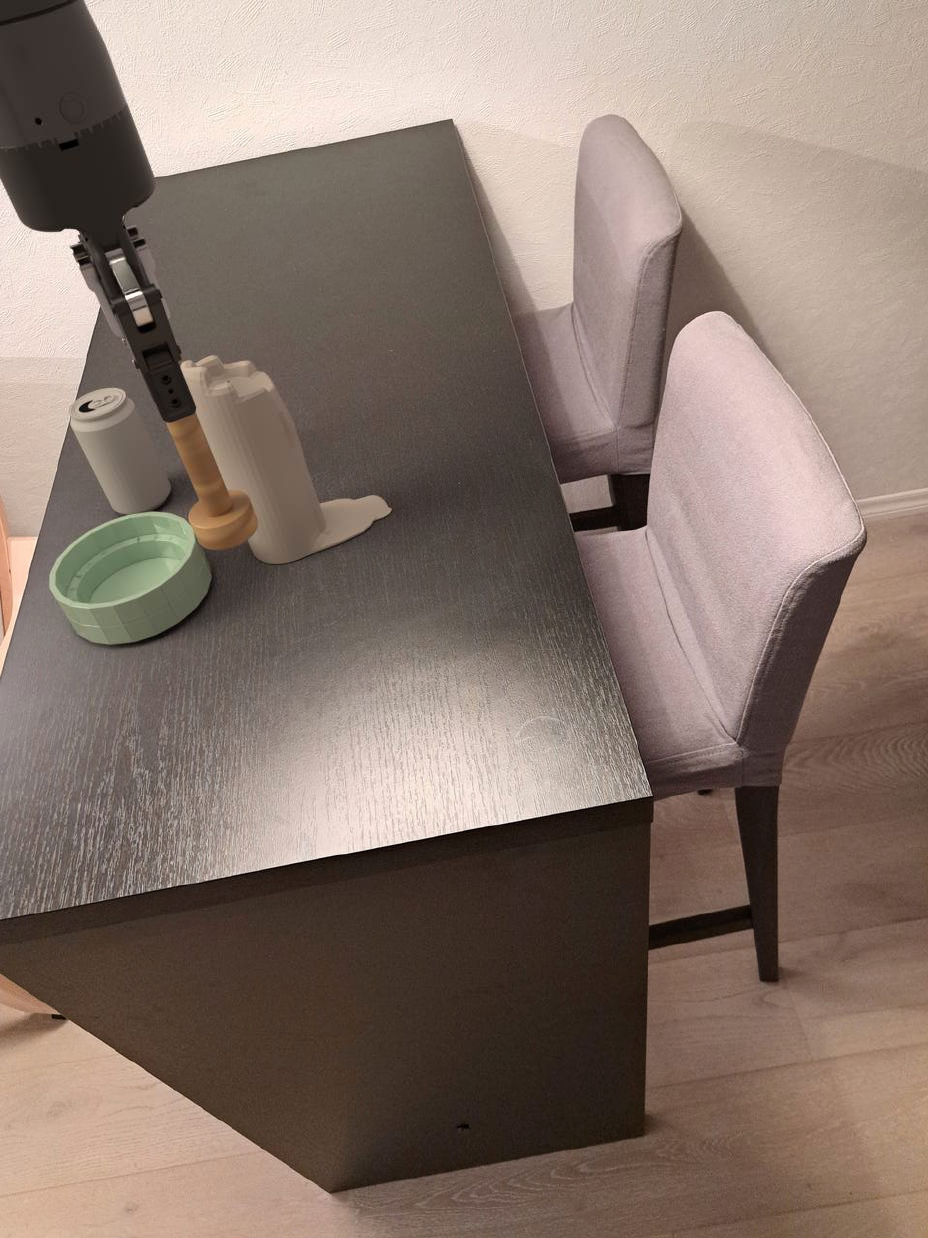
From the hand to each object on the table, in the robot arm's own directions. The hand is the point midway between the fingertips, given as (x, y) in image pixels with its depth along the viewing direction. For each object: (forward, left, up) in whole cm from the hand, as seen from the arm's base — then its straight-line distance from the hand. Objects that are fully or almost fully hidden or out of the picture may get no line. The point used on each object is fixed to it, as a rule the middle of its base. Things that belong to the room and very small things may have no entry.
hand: (175, 407), depth 60 cm
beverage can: (+21, +28, -25) cm, 43 cm away
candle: (+19, +6, -25) cm, 32 cm away
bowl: (+7, +19, -25) cm, 32 cm away
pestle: (0, 0, -10) cm, 10 cm away
